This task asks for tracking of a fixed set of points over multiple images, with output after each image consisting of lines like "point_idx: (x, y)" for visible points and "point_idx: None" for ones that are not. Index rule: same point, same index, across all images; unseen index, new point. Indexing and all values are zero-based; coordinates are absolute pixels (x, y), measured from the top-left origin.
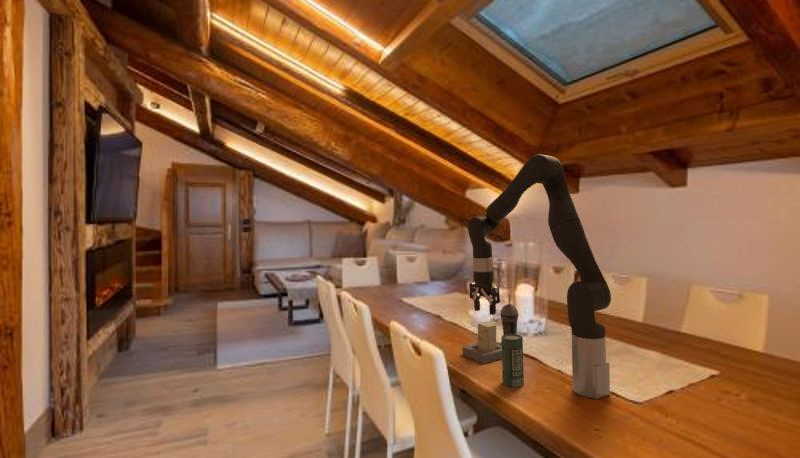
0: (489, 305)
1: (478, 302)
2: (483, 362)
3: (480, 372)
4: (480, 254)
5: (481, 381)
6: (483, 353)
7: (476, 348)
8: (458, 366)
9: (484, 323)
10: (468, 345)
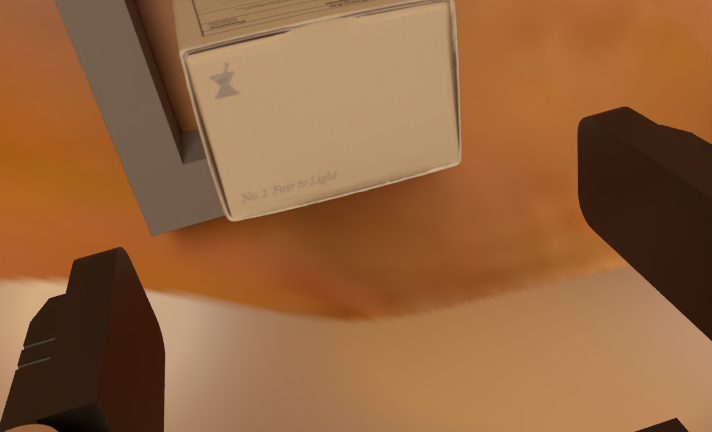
0: (705, 331)
1: (124, 407)
2: None
3: (536, 206)
4: None
5: None
6: None
7: (159, 87)
8: (379, 299)
9: (288, 132)
10: (129, 172)
